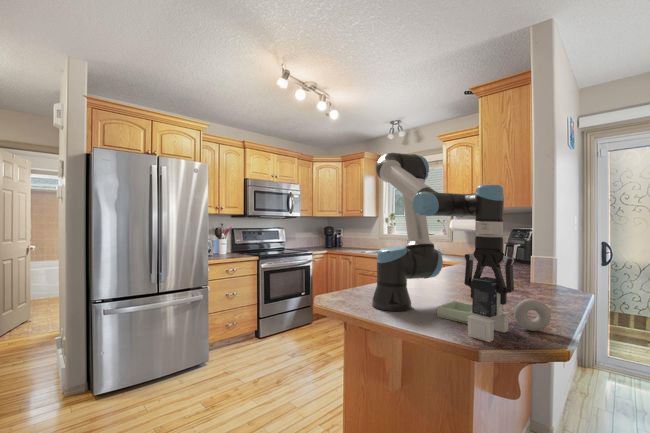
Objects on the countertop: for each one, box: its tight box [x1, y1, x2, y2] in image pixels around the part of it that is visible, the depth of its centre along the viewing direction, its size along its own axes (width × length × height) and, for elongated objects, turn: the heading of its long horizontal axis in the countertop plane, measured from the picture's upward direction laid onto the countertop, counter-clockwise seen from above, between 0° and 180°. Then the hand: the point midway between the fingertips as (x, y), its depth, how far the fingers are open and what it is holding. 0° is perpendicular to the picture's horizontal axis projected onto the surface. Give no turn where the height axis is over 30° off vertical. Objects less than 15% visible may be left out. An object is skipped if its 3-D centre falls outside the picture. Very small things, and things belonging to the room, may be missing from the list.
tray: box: [436, 300, 484, 325], centre depth 109 cm, size 11×13×4 cm
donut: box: [513, 298, 552, 332], centre depth 96 cm, size 10×4×10 cm, turn 78°
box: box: [472, 276, 500, 318], centre depth 93 cm, size 8×6×11 cm
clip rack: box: [467, 310, 510, 343], centre depth 93 cm, size 6×16×6 cm, turn 132°
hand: (487, 311), depth 93 cm, fingers closed on box, 6 cm apart
